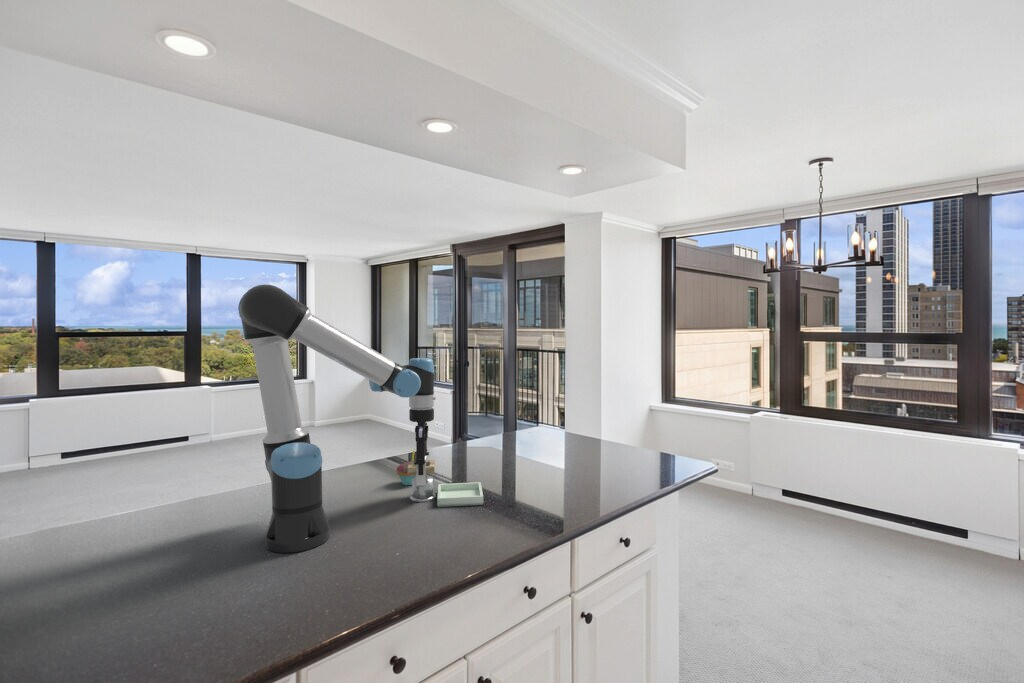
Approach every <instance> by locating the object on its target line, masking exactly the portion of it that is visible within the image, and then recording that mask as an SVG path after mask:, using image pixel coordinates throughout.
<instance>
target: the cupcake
mask: <svg viewBox="0 0 1024 683" xmlns="http://www.w3.org/2000/svg"><path fill="white" fill-rule="evenodd" d="M415 449H416V448H414V449H413V450H412V455H411V460H410V461H415V460H414V458H415V453H416V452H415ZM410 461H409V462H410ZM409 462H403V463H400V464H399V465H398V466H397V467H396V470H395V472H396V475H398V477H399V478H400V481H401V484H402V485H403V486H412V479H413V478H414V477H416V474H408V472H404V464H407V463H409Z"/></svg>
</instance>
